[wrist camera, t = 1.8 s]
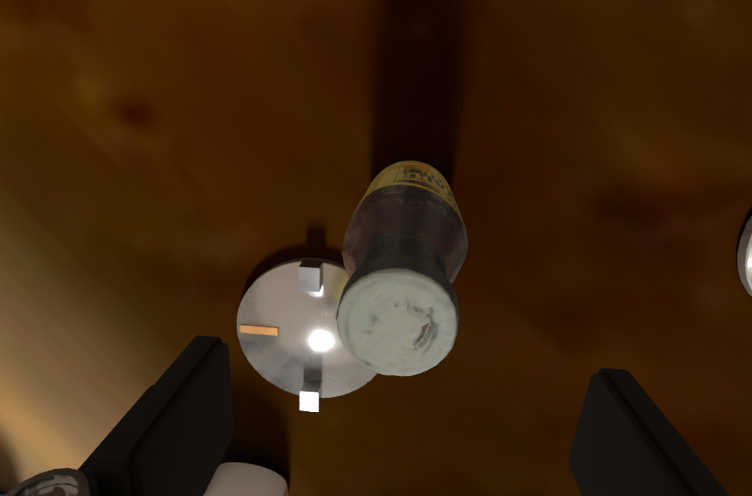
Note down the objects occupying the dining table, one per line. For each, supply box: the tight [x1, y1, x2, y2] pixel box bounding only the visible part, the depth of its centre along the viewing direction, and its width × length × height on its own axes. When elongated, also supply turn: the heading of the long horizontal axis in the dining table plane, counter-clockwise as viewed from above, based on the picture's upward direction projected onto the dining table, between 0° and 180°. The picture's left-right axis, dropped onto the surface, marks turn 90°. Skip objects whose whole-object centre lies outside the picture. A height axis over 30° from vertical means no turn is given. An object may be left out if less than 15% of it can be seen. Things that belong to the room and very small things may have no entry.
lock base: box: [237, 257, 377, 412], centre depth 35 cm, size 13×13×3 cm
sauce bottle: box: [336, 161, 468, 376], centre depth 23 cm, size 6×6×20 cm
